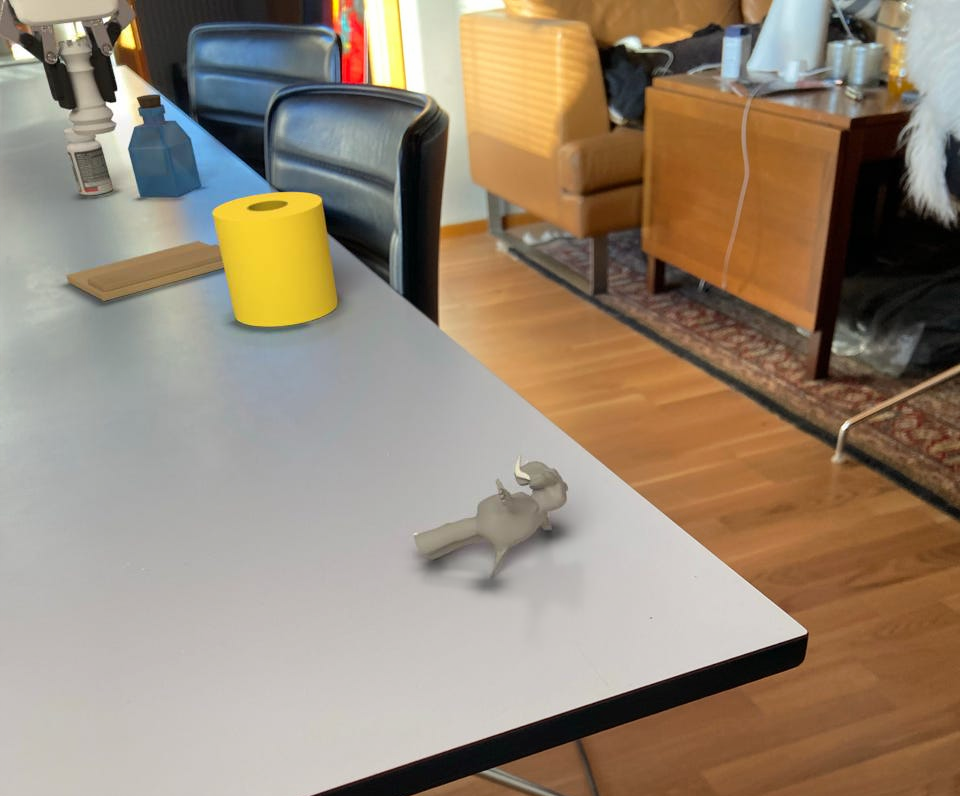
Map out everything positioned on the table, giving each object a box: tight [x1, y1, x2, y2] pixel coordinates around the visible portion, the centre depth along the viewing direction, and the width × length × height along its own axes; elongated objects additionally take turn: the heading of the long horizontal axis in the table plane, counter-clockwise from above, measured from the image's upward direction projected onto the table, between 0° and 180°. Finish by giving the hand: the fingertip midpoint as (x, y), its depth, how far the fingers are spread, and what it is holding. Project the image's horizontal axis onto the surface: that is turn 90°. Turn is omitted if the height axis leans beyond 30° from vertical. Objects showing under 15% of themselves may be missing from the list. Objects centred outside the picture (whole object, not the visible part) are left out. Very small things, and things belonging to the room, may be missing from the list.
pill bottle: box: [63, 126, 114, 196], centre depth 145 cm, size 5×5×8 cm
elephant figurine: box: [412, 454, 569, 580], centre depth 58 cm, size 10×6×9 cm
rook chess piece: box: [57, 38, 117, 136], centre depth 101 cm, size 4×4×8 cm
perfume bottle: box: [127, 93, 202, 198], centre depth 140 cm, size 6×6×12 cm
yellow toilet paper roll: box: [211, 191, 339, 328], centre depth 96 cm, size 10×10×9 cm
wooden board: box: [66, 240, 224, 302], centre depth 111 cm, size 16×10×1 cm, turn 129°
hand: (87, 102), depth 101 cm, fingers closed on rook chess piece, 3 cm apart
